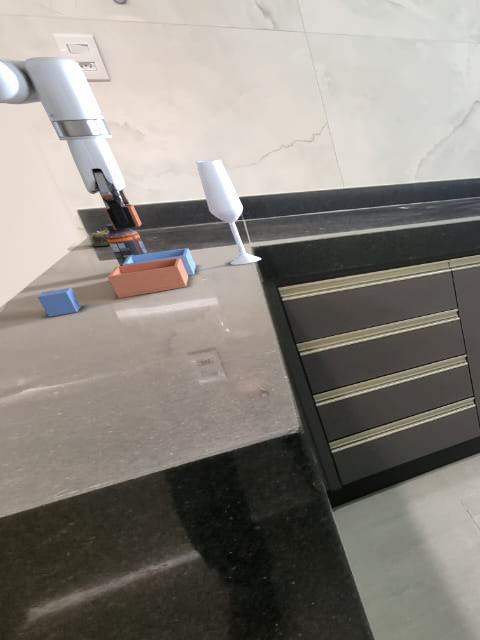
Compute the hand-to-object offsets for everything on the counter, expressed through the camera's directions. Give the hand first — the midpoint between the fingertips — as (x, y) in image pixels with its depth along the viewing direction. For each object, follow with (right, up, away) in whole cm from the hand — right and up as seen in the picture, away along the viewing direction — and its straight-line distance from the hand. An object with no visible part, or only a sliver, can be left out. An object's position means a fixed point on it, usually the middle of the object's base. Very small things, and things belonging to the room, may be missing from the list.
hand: (127, 225), depth 110 cm
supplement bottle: (-18, -6, +21) cm, 28 cm away
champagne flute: (+7, -3, +24) cm, 25 cm away
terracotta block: (0, 0, 0) cm, 0 cm away
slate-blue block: (-5, -19, -8) cm, 21 cm away
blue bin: (-5, -8, +15) cm, 18 cm away
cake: (-55, +8, +53) cm, 77 cm away
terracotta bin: (+1, -12, +6) cm, 13 cm away
